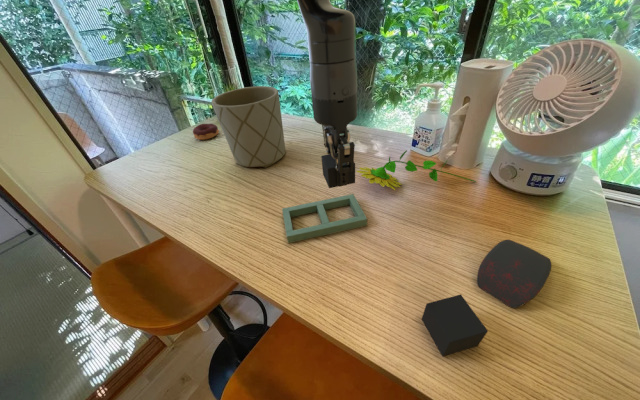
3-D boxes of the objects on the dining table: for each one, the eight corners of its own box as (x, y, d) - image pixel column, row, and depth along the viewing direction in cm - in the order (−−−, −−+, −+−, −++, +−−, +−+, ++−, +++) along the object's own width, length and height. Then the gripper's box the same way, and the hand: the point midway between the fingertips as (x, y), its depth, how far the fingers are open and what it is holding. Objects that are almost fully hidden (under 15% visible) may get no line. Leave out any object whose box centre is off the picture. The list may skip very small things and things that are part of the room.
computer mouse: (468, 281, 43) (475, 266, 40) (503, 239, 49) (510, 224, 47) (523, 315, 38) (534, 301, 35) (554, 264, 44) (565, 248, 42)
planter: (298, 146, 89) (289, 86, 77) (271, 175, 75) (254, 107, 63) (253, 141, 95) (237, 85, 83) (220, 167, 82) (196, 105, 69)
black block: (477, 346, 35) (488, 331, 32) (442, 356, 35) (449, 342, 32) (453, 310, 39) (460, 294, 37) (421, 319, 39) (426, 303, 36)
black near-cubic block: (355, 183, 50) (355, 163, 48) (329, 188, 50) (327, 168, 47) (347, 169, 55) (346, 150, 52) (322, 174, 54) (321, 155, 51)
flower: (454, 190, 72) (353, 164, 71) (470, 162, 68) (363, 134, 67) (475, 211, 61) (356, 181, 60) (494, 179, 58) (367, 146, 56)
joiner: (367, 225, 55) (367, 218, 54) (288, 243, 53) (286, 236, 52) (353, 200, 63) (353, 193, 62) (283, 214, 61) (282, 208, 60)
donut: (214, 140, 99) (210, 131, 97) (190, 141, 101) (186, 132, 98) (223, 130, 107) (220, 121, 105) (201, 131, 108) (198, 122, 106)
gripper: (304, 83, 47) (313, 163, 57) (321, 107, 35) (329, 201, 46) (343, 77, 47) (345, 157, 58) (372, 99, 36) (368, 193, 47)
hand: (338, 176), depth 52 cm, fingers closed on black near-cubic block, 5 cm apart
